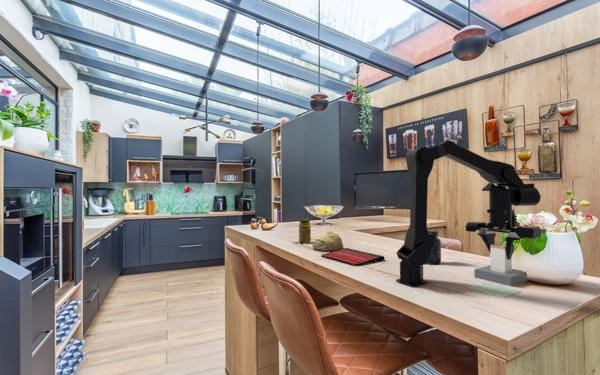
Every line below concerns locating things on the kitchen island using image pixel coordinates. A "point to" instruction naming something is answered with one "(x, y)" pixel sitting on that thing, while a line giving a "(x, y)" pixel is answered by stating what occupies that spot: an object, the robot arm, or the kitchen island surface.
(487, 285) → the mat
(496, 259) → the plug
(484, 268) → the grey square socket block
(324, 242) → the tan lumpy mound
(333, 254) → the binder
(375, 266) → the kitchen island surface
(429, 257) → the supplement bottle
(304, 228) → the condiment
